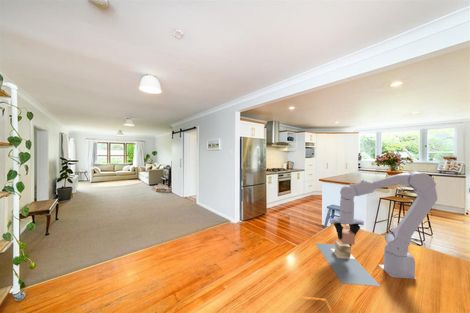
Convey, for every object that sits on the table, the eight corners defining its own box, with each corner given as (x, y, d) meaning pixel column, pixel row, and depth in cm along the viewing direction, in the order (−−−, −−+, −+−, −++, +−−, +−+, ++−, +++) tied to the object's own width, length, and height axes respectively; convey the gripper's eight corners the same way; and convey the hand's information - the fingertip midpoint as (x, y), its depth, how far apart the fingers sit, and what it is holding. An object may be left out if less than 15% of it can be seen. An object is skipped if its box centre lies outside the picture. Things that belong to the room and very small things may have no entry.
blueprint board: (341, 245, 98) (342, 244, 98) (380, 287, 68) (380, 285, 68) (315, 244, 99) (315, 242, 99) (341, 284, 70) (341, 282, 70)
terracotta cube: (348, 239, 89) (349, 229, 88) (354, 244, 84) (354, 234, 83) (338, 238, 89) (338, 228, 89) (343, 244, 84) (343, 233, 84)
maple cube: (345, 250, 92) (345, 241, 91) (350, 256, 87) (350, 246, 86) (334, 250, 92) (335, 240, 92) (339, 256, 87) (339, 245, 87)
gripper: (357, 208, 89) (356, 235, 90) (327, 207, 91) (326, 234, 91) (367, 213, 82) (365, 242, 83) (333, 212, 84) (332, 241, 84)
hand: (345, 238), depth 87 cm, fingers closed on terracotta cube, 5 cm apart
